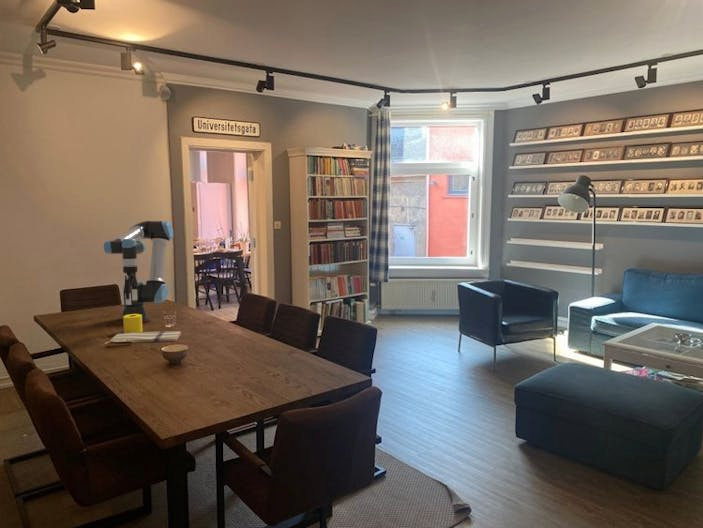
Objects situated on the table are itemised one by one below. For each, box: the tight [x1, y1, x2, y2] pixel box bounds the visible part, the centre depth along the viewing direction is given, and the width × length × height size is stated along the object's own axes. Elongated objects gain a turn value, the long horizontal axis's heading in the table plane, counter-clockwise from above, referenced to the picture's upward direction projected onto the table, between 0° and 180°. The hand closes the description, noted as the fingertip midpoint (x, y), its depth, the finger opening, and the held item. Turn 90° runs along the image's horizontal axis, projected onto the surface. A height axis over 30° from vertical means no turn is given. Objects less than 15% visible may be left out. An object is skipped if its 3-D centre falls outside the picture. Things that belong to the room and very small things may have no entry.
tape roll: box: [122, 314, 143, 333], centre depth 303 cm, size 10×10×9 cm
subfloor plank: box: [109, 330, 182, 344], centre depth 289 cm, size 16×34×2 cm, turn 98°
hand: (131, 302), depth 301 cm, fingers open, 13 cm apart
